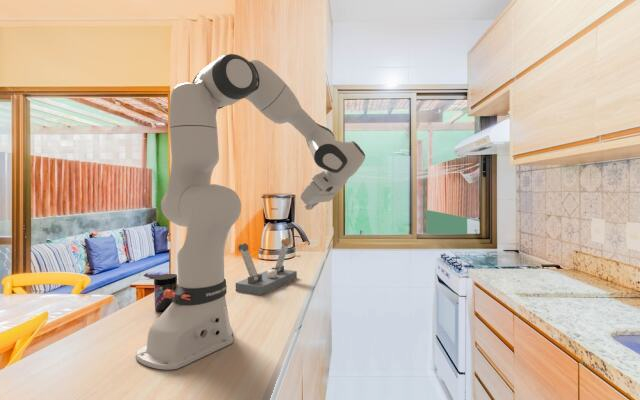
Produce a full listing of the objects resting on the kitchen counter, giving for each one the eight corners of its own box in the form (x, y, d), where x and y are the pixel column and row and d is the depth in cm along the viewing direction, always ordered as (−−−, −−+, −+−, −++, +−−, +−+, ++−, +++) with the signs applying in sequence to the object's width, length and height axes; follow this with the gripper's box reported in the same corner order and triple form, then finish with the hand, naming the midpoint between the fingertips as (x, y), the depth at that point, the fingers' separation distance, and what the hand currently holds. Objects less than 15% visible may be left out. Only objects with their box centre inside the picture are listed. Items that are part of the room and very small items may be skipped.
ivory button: (273, 278, 122) (273, 272, 122) (265, 277, 124) (265, 271, 124) (278, 276, 125) (278, 270, 125) (271, 275, 127) (271, 269, 127)
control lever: (278, 274, 131) (288, 240, 128) (272, 270, 132) (281, 237, 129) (282, 272, 133) (292, 239, 131) (276, 269, 135) (286, 236, 132)
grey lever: (256, 281, 117) (241, 243, 119) (250, 283, 118) (236, 246, 121) (261, 278, 120) (247, 241, 122) (255, 281, 121) (241, 244, 123)
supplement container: (158, 306, 104) (157, 274, 104) (180, 304, 106) (179, 273, 105) (151, 313, 98) (150, 280, 97) (175, 311, 99) (174, 278, 99)
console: (261, 295, 113) (261, 280, 113) (235, 291, 118) (235, 276, 118) (296, 278, 134) (296, 265, 134) (273, 275, 140) (273, 262, 140)
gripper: (336, 176, 125) (315, 201, 130) (312, 175, 106) (288, 204, 111) (347, 187, 123) (325, 212, 128) (324, 188, 105) (299, 217, 110)
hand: (308, 208), depth 119 cm, fingers closed
